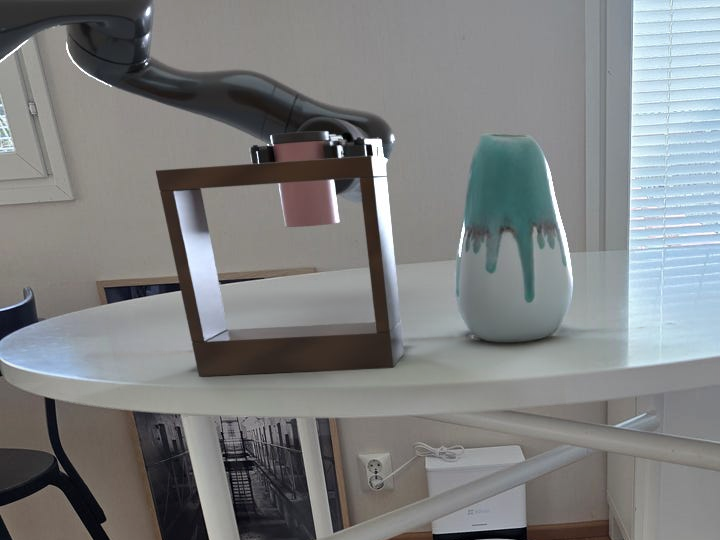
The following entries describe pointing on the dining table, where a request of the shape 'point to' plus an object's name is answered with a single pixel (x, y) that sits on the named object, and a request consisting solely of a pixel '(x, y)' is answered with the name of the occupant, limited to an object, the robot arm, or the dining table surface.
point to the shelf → (281, 344)
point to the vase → (511, 244)
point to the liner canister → (308, 198)
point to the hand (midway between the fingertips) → (296, 156)
